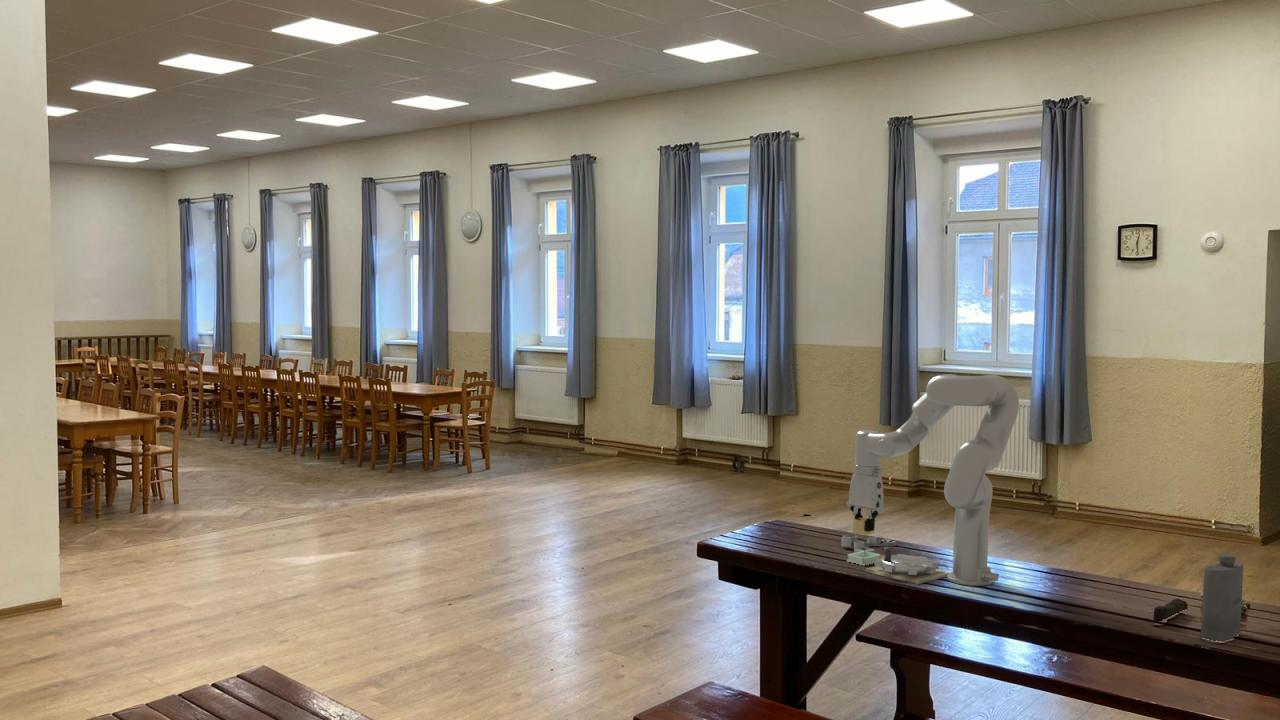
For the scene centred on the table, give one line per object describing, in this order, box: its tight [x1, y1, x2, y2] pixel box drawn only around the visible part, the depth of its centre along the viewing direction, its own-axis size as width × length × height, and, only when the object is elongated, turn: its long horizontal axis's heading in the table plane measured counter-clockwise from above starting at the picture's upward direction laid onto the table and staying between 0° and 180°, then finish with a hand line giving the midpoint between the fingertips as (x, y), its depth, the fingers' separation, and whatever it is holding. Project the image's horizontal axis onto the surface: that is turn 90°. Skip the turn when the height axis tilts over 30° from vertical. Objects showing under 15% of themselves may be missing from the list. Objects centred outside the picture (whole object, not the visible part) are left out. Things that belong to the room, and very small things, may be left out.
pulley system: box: [841, 534, 897, 553], centre depth 348 cm, size 27×5×15 cm
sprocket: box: [874, 546, 940, 575], centre depth 313 cm, size 18×18×6 cm
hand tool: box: [1152, 598, 1189, 624], centre depth 271 cm, size 19×4×5 cm, turn 133°
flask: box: [1200, 553, 1244, 641], centre depth 256 cm, size 15×6×20 cm, turn 132°
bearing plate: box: [865, 565, 950, 585], centre depth 313 cm, size 18×16×2 cm
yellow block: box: [852, 516, 876, 536], centre depth 327 cm, size 4×6×5 cm, turn 132°
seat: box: [846, 550, 882, 567], centre depth 327 cm, size 6×9×2 cm
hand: (864, 529), depth 327 cm, fingers closed on yellow block, 3 cm apart
